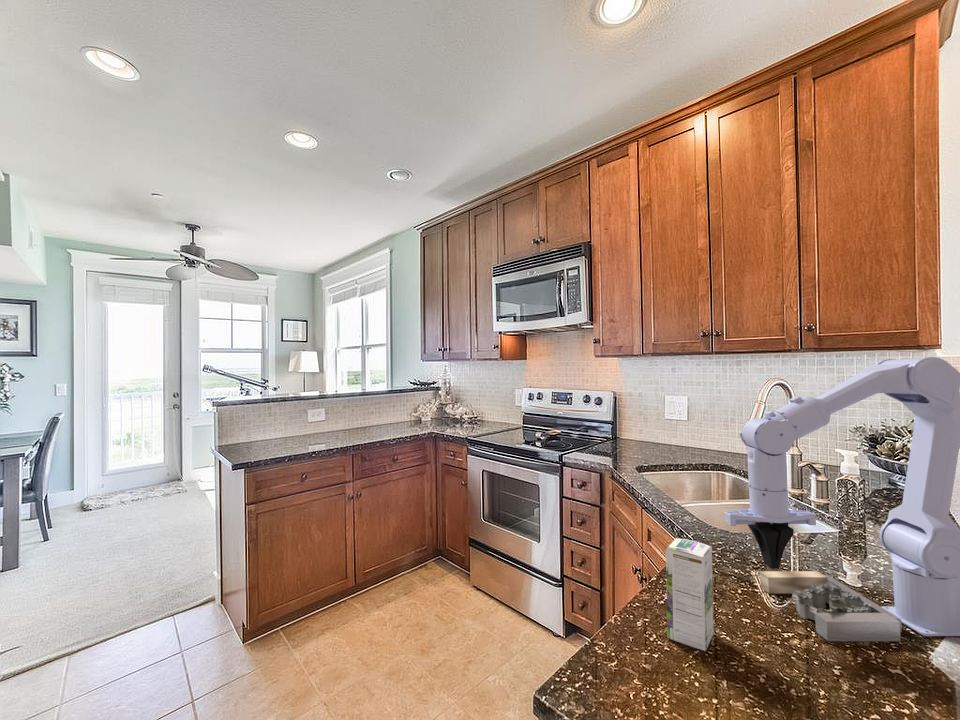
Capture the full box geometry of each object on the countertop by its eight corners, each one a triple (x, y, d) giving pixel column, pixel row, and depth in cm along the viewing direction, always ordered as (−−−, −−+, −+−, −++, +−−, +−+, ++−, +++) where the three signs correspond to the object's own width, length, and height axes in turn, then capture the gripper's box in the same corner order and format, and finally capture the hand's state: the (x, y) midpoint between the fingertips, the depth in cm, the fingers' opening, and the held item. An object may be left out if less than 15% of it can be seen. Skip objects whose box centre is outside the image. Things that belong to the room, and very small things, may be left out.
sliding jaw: (818, 586, 83) (817, 571, 84) (828, 593, 81) (827, 577, 81) (760, 586, 84) (760, 571, 84) (768, 593, 81) (768, 577, 81)
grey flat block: (827, 584, 84) (826, 569, 84) (917, 641, 66) (916, 621, 66) (757, 584, 85) (756, 569, 85) (827, 641, 67) (826, 621, 67)
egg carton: (833, 635, 69) (831, 609, 69) (787, 610, 76) (786, 587, 76) (878, 622, 72) (877, 597, 72) (830, 600, 79) (829, 577, 79)
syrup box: (676, 622, 73) (673, 536, 73) (715, 635, 69) (712, 544, 70) (667, 639, 68) (663, 547, 69) (708, 653, 65) (704, 556, 65)
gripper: (794, 481, 79) (798, 555, 78) (714, 482, 80) (717, 556, 79) (823, 491, 72) (827, 573, 71) (735, 492, 73) (739, 574, 72)
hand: (771, 565), depth 75 cm, fingers closed
